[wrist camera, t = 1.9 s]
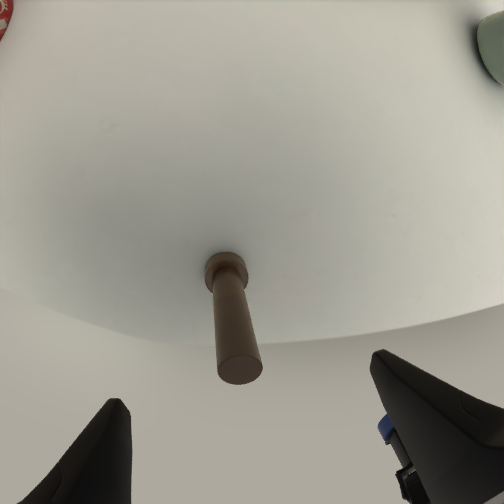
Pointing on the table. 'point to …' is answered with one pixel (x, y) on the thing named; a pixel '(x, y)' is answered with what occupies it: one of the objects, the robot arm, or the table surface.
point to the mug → (5, 14)
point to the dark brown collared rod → (232, 320)
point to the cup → (492, 44)
